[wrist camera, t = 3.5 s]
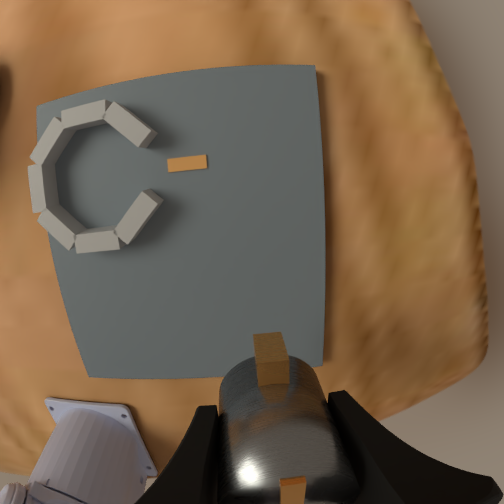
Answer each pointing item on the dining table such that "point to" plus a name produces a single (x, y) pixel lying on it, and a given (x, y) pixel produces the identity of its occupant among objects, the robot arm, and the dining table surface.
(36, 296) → the dining table surface
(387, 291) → the dining table surface
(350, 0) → the dining table surface
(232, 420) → the knob
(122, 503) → the robot arm
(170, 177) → the hub board
